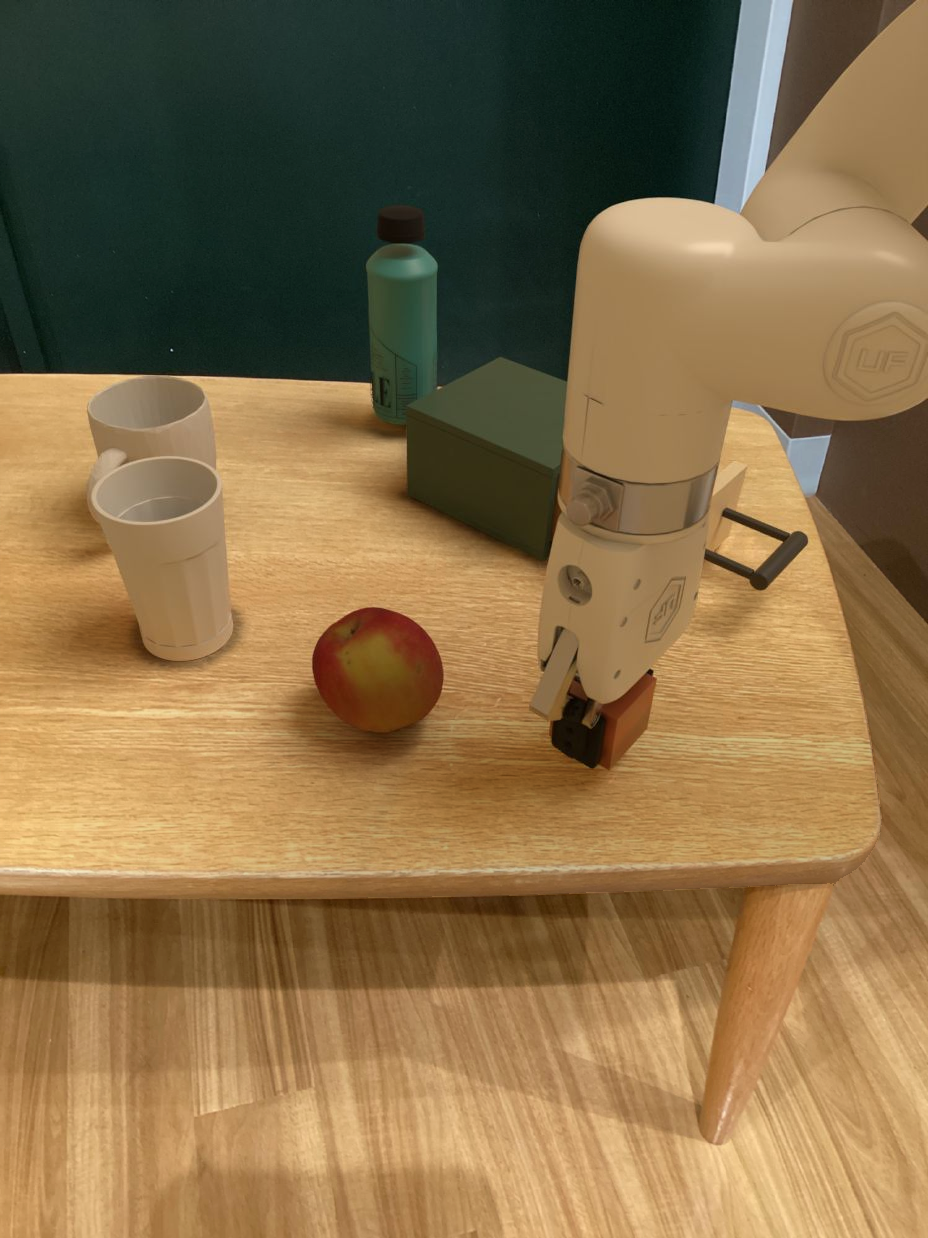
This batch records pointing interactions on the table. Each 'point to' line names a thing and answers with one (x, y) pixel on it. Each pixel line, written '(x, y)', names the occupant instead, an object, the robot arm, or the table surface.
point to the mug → (149, 424)
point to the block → (622, 718)
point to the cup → (170, 552)
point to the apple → (377, 670)
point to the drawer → (720, 527)
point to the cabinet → (491, 452)
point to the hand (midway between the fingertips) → (598, 728)
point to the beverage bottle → (401, 314)
